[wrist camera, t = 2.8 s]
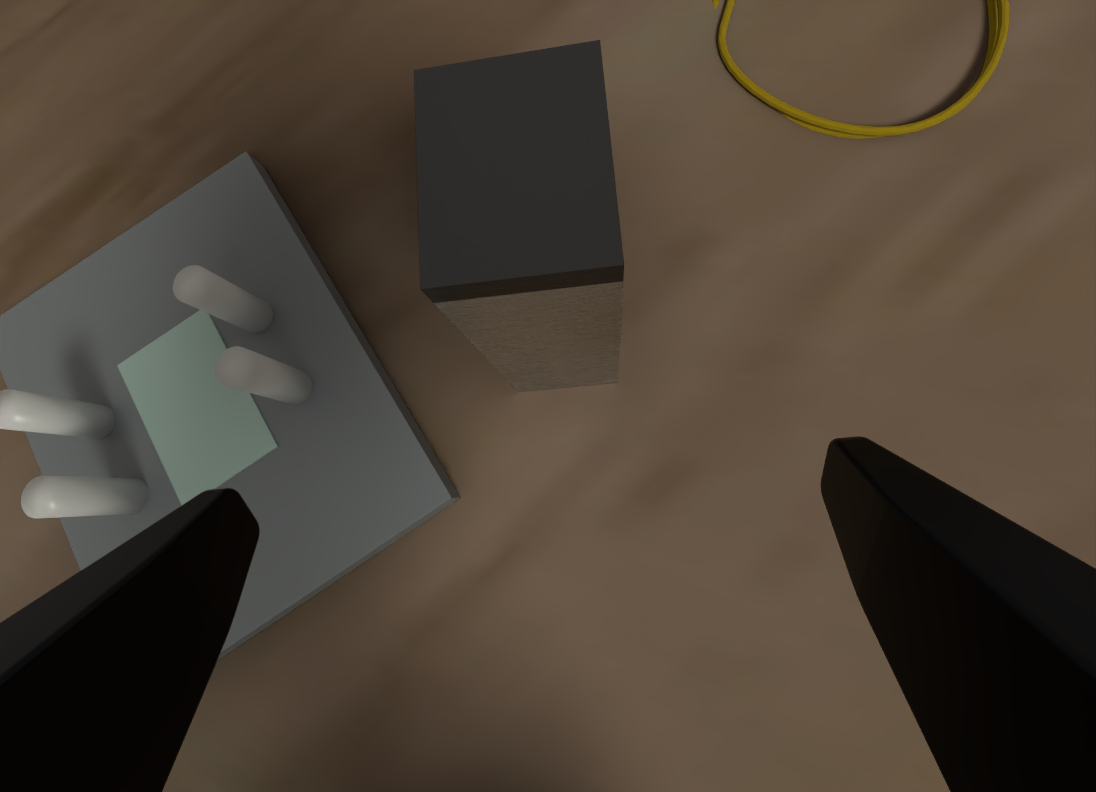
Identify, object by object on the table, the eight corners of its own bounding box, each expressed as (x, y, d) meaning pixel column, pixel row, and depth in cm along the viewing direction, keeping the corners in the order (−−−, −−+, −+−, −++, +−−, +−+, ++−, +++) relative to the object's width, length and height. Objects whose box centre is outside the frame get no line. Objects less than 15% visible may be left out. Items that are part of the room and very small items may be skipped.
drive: (617, 382, 21) (623, 265, 10) (517, 392, 21) (420, 289, 10) (605, 263, 22) (599, 40, 11) (510, 275, 22) (414, 70, 11)
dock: (460, 497, 21) (417, 498, 16) (163, 697, 21) (34, 755, 16) (263, 167, 24) (183, 92, 20) (13, 335, 24) (-125, 298, 20)
